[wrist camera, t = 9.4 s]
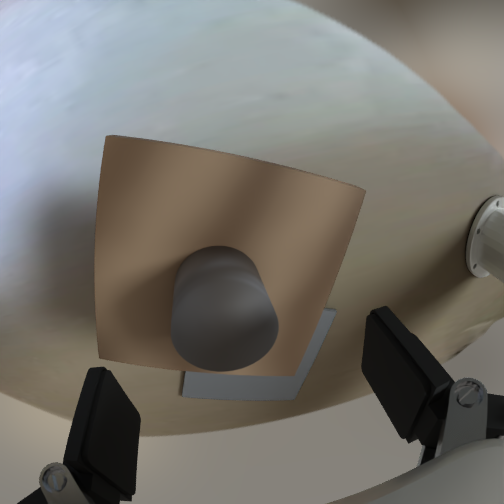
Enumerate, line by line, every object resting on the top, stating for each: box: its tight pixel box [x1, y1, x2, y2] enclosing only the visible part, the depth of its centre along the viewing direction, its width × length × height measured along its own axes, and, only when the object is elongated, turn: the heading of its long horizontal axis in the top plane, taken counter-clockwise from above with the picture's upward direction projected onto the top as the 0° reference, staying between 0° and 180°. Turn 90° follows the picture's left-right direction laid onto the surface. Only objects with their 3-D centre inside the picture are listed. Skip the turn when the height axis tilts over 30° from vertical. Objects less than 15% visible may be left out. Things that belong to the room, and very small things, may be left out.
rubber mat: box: [182, 308, 337, 401], centre depth 32 cm, size 15×15×1 cm
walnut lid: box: [94, 135, 366, 376], centre depth 14 cm, size 13×13×5 cm
